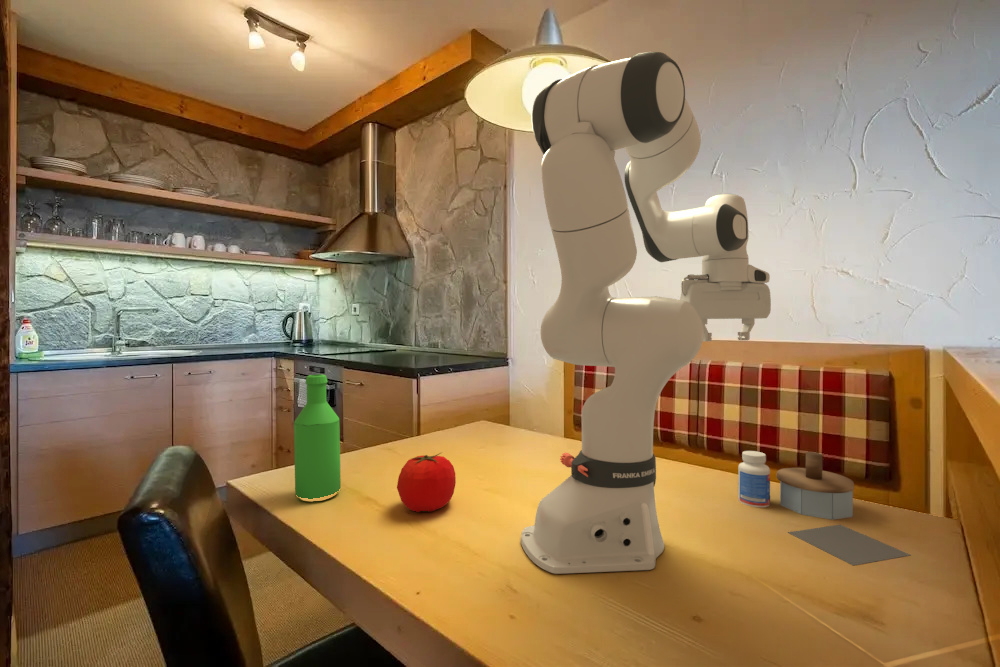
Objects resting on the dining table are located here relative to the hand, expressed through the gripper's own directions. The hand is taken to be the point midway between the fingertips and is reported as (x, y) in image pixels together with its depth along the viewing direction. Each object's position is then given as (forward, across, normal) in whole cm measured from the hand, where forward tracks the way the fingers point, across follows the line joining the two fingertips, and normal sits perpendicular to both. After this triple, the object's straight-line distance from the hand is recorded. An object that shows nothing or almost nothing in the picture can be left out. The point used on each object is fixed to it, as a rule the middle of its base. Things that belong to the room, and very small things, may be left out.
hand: (725, 340), depth 99 cm
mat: (+31, -1, -27) cm, 41 cm away
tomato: (+31, -62, +7) cm, 70 cm away
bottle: (+31, -83, +19) cm, 91 cm away
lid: (+26, +8, -14) cm, 31 cm away
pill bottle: (+31, -1, -9) cm, 33 cm away
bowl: (+31, +8, -14) cm, 35 cm away
